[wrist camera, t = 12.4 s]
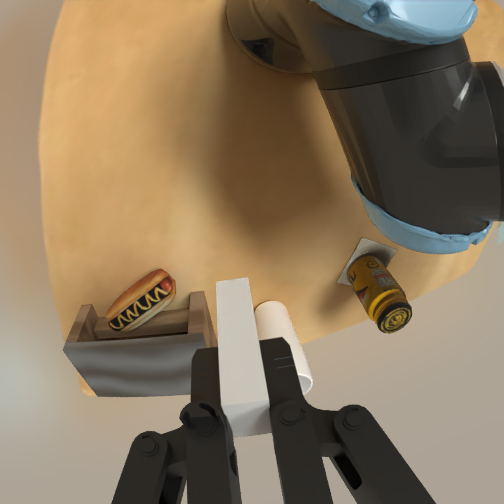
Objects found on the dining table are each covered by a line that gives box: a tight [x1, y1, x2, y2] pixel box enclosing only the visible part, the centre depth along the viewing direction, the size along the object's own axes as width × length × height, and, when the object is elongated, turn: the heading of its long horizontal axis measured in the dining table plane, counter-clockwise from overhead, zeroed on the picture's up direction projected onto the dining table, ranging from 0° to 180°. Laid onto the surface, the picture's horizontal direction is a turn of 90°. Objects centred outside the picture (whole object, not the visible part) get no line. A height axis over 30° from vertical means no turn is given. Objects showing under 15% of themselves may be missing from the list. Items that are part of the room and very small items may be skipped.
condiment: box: [337, 238, 412, 333], centre depth 41 cm, size 7×8×12 cm
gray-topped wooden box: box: [63, 291, 218, 397], centre depth 43 cm, size 12×21×10 cm, turn 96°
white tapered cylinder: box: [254, 301, 313, 395], centre depth 42 cm, size 7×7×15 cm
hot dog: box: [106, 269, 176, 332], centre depth 42 cm, size 5×13×5 cm, turn 126°
